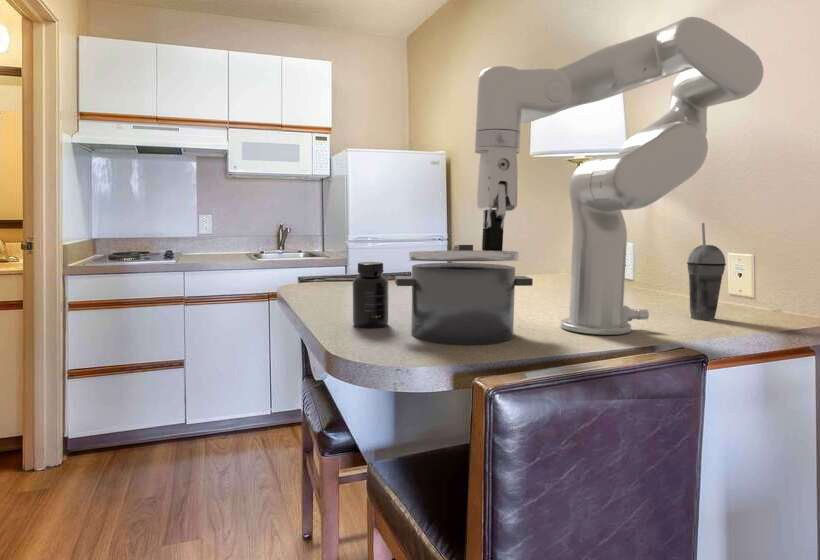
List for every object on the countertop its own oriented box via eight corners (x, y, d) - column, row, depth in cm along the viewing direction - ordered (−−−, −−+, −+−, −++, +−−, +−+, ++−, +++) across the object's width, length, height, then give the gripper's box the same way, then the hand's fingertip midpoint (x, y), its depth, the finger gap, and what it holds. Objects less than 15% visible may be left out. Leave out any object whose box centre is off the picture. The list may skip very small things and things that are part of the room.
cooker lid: (501, 261, 108) (502, 247, 108) (533, 260, 89) (533, 243, 89) (404, 261, 106) (404, 247, 106) (415, 259, 87) (415, 242, 87)
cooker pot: (512, 323, 109) (514, 262, 108) (543, 344, 91) (545, 271, 90) (392, 324, 107) (392, 262, 105) (399, 346, 89) (400, 271, 87)
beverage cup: (729, 321, 113) (736, 223, 111) (693, 321, 113) (700, 223, 111) (710, 315, 121) (717, 223, 118) (677, 315, 121) (682, 222, 118)
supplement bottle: (348, 323, 108) (347, 261, 107) (381, 321, 111) (381, 261, 109) (359, 329, 102) (359, 264, 100) (393, 327, 104) (394, 263, 103)
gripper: (532, 138, 88) (526, 254, 89) (506, 150, 102) (501, 250, 104) (486, 136, 87) (480, 253, 89) (466, 148, 102) (462, 248, 104)
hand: (492, 251), depth 97 cm, fingers closed
